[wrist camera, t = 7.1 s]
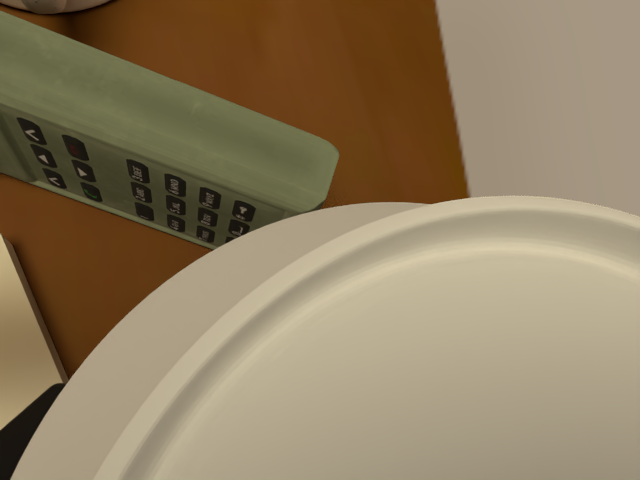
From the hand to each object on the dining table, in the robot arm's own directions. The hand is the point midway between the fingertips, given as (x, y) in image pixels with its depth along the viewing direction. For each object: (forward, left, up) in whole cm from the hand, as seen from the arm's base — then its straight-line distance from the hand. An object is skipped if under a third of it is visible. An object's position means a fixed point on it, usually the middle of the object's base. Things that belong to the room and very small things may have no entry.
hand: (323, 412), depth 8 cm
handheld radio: (+14, +4, -13) cm, 19 cm away
